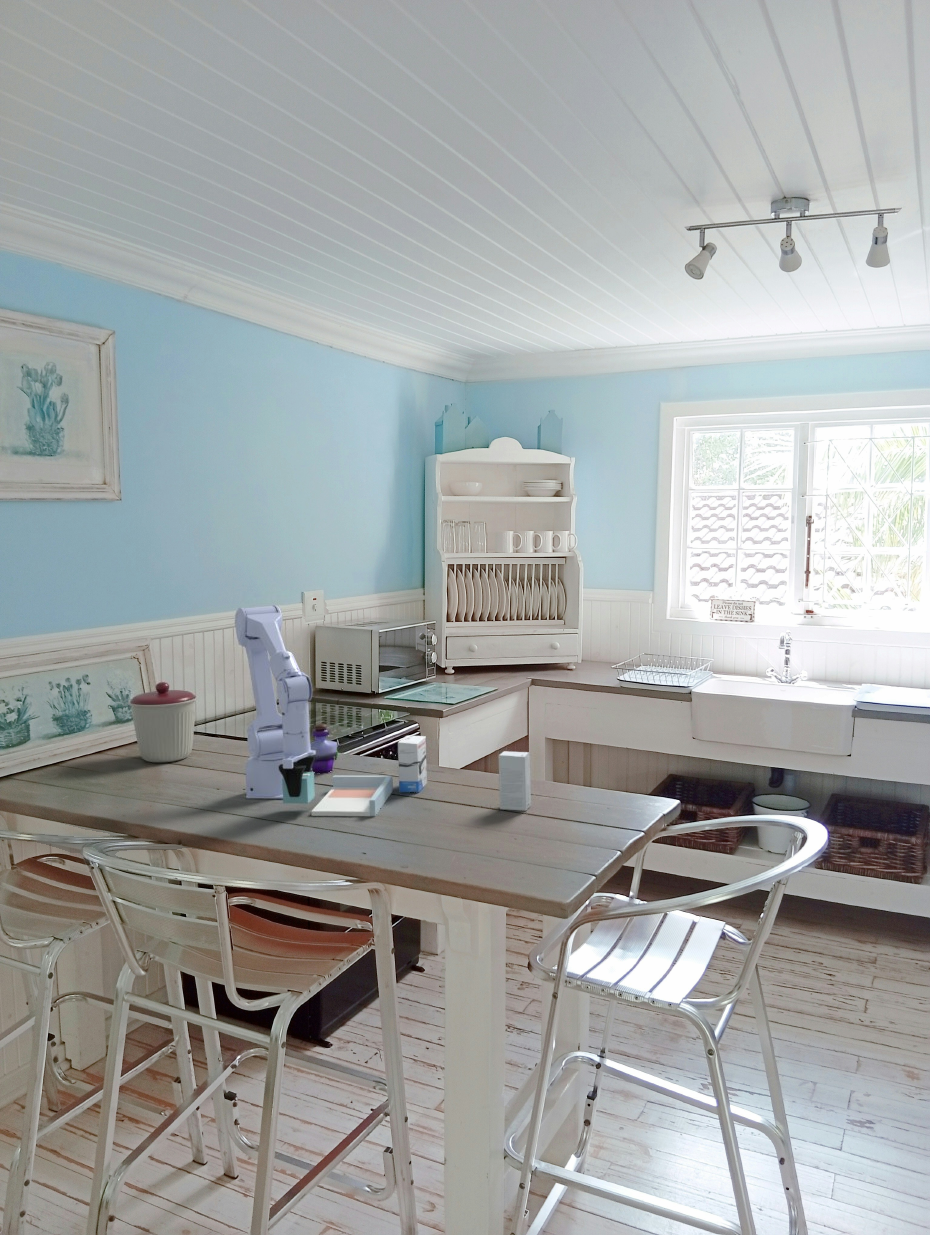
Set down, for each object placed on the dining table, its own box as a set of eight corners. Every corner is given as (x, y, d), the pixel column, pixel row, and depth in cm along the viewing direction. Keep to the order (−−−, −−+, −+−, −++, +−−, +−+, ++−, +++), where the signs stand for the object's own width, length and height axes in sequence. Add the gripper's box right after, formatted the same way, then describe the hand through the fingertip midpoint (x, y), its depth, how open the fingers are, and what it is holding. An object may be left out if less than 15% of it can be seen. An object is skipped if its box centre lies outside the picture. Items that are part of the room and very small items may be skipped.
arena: (311, 815, 208) (310, 799, 208) (334, 789, 228) (333, 775, 228) (375, 816, 207) (374, 800, 206) (393, 790, 226) (392, 775, 226)
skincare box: (531, 805, 211) (530, 752, 210) (526, 811, 207) (525, 756, 206) (504, 803, 213) (503, 750, 212) (499, 809, 209) (497, 755, 208)
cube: (283, 803, 209) (282, 777, 209) (290, 795, 215) (289, 771, 214) (308, 803, 209) (307, 778, 208) (314, 796, 214) (313, 771, 213)
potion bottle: (345, 771, 245) (343, 725, 243) (314, 777, 240) (312, 730, 239) (330, 765, 252) (328, 719, 251) (299, 770, 247) (297, 724, 246)
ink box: (419, 793, 223) (417, 743, 222) (398, 792, 224) (396, 742, 223) (427, 783, 232) (426, 735, 230) (407, 783, 233) (406, 734, 231)
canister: (173, 747, 277) (168, 675, 275) (214, 755, 266) (210, 679, 264) (117, 761, 262) (112, 684, 260) (159, 770, 252) (154, 690, 249)
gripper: (304, 739, 202) (307, 802, 204) (322, 724, 217) (325, 783, 218) (272, 739, 203) (274, 802, 205) (292, 724, 217) (294, 783, 219)
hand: (298, 792), depth 211 cm, fingers closed on cube, 5 cm apart
